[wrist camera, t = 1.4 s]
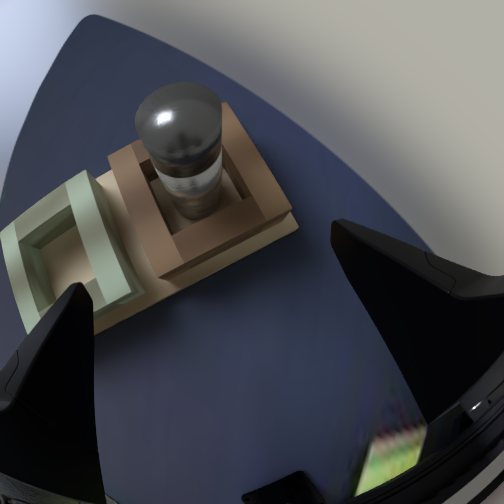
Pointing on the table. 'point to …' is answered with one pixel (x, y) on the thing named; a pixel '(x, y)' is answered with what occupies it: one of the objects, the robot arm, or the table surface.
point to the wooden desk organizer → (140, 233)
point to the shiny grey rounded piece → (185, 145)
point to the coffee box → (110, 500)
